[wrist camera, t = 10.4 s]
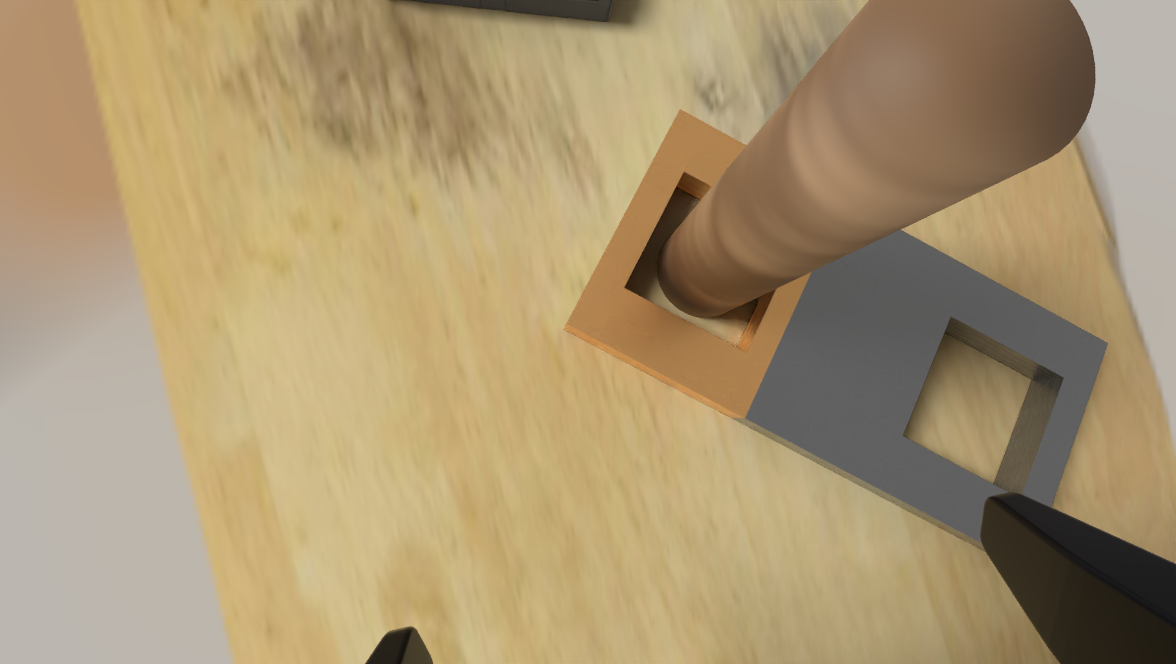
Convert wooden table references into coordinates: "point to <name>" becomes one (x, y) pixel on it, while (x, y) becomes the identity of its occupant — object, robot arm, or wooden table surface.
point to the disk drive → (542, 7)
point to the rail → (848, 352)
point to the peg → (884, 141)
